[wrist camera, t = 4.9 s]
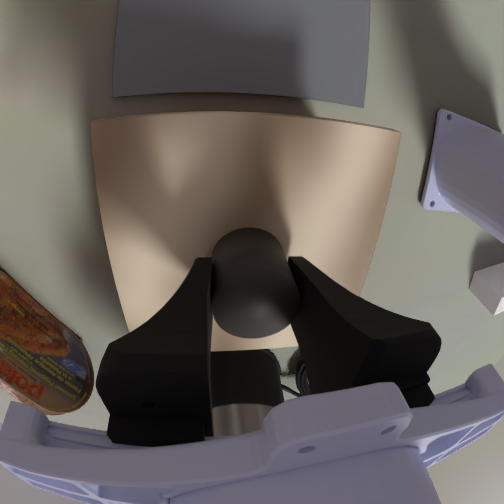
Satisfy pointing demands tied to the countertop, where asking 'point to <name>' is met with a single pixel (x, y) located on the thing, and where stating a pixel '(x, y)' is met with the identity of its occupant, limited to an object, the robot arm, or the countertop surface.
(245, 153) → the birch lid
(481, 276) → the napkin holder
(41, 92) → the countertop surface
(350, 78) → the slate mat
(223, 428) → the milk frother
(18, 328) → the tin
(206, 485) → the robot arm
